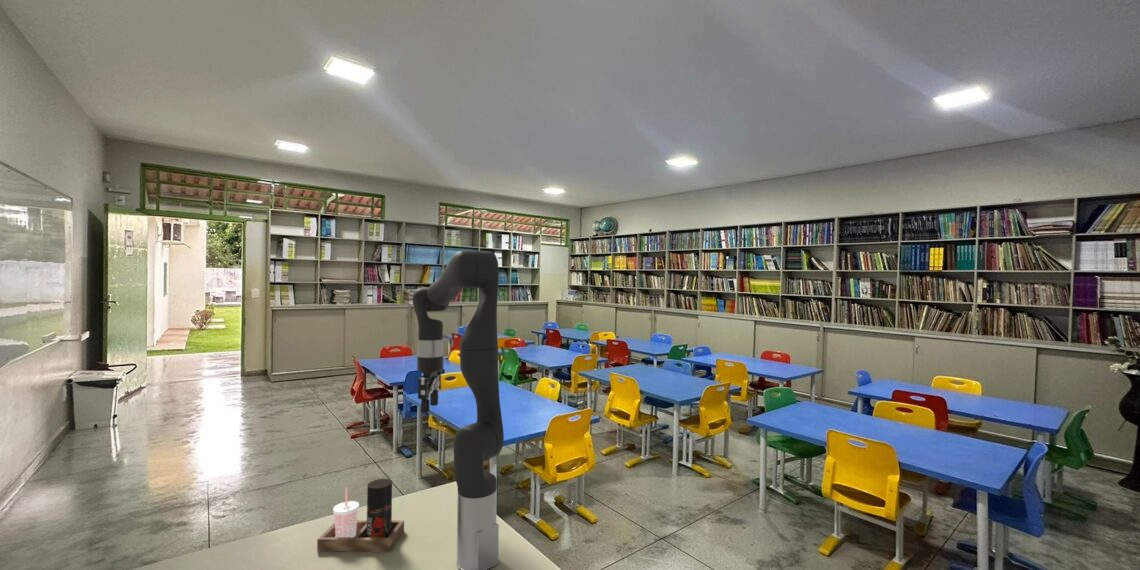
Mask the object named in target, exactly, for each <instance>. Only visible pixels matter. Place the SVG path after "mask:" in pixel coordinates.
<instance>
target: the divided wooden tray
mask: <svg viewBox="0 0 1140 570" xmlns="http://www.w3.org/2000/svg"><path fill="white" fill-rule="evenodd" d="M404 533H405V520H392V524H391V534H390V535H389V537H388V538H367V519H364V520H363V519H361V520H360V519H359V520H358V519H357V527H356V535H355V536H354V537H335V522H334V523H333V524H331V526H330V527H328V529H326V531H325V532H323V533H322V534H321V536H319V537H318V538H317V540H316V541H317V542H316V544H317V545H316V546H317V548H316V551H347V552H346V553H348V552H349V553H350V552H351V553H362V552H363V553H391V551H392V550H393V548H394V547H395V545H396V544H397V543H398V541H399V539H401V537H402V535H404Z"/></svg>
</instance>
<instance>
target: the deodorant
mask: <svg viewBox="0 0 1140 570" xmlns="http://www.w3.org/2000/svg"><path fill="white" fill-rule="evenodd" d="M366 492H367V493H366V494H367V495H366V508H367V509H366V520H367V538H388V537H389V535H390V534H391V524H392V521H393V519H392V518H393V517H392V516H393V510H392V509H393V507H392V506H393V505H392V504H393V503H392V502H393V481H392V480H391V479H390V478H380V479H379V478H378V479H375V480H372V481H370V482H368V483H367V491H366Z"/></svg>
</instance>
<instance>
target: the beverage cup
mask: <svg viewBox="0 0 1140 570" xmlns="http://www.w3.org/2000/svg"><path fill="white" fill-rule="evenodd" d="M344 489H345V491H344V492H345V495H344V496H345V499H344V500H345V501H344V502H341V503H337V504H336V505H335V506H333V508H332V511H333V512H332V513H333V515H334V516H333V517H334V523H335V536H336V537H354V536H355V535H356V534H357V533H356V527H357V520H358V512H359V509H360V503H359V502H358V501H353V500H350V501H348V486H345V488H344Z"/></svg>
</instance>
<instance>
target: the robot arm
mask: <svg viewBox="0 0 1140 570" xmlns="http://www.w3.org/2000/svg"><path fill="white" fill-rule="evenodd" d="M499 269H500V268H499V261H498V258H497V256H496V253H494V252H492V251H488V250H470V249H469V250H466V249H464V250H459V251H456V252H455V253H454V254H453V255H452V256H451V258H450V260H449V261H448V263H447V264H446V266H445V268H444V269H443V271H442V273H441V275H440V276H439V277H438V278H437V279H436V280H435V281H433V282H432V283H431V284H430V285H429V287H419V288H417V289H416V290H414V292H413V294H412V305H413V306H412V307H413V309H414V311H415V315H416V320H417V325H418V335H417V337H418V340H417V347H416V349H417V352H416V353H417V354H416V356H417V357H416V358H417V359H416V360H417V361H416V363H417V364H416V367H417V369H416V370H417V371H418V372H421V373H422V377H418V384H417V385H418V386H417V387H418V389H417V399H418V400H420V411H421V413H423V414H427V413H429V412H430V406H432V407H435V406H437V405H439V393H440V390H441V389H442V371H443V369H444V349H445V348H444V340H443V339H444V323H443V321H442V320H440V319H437V318H436V319H435V318H431V317H430V316H428V312H430V313H431V312H443V311H446V310H447V309H448V308H449V304H450V302H452V301H454V300H455V298H456V297H458V295H459V293H460V291H461V288H466V289H469V288H470V289H474V288H475V289H477V288H478V289H479V296H478V297H479V298H478V304H477V307H476V310H475V312H474V315H473V316H472V318H471V320H470V322H469V324H468V325H467V327H466V328H465V330H464V332H463V334H462V336H461V339H460V342H459V366H460V371H461V374H462V377H463V378H464V380H465V383H466V385H468V387H469V389H470V391H471V392H472V394H473V397H474V399H475V403H476V404H475V405H476V422H473V423H470V424H468V425H467V424H466V425H464V426H462V427H460V428H459V429H458V430H457V431H456V433H455V436H454V439H453V463H454V464H453V466H454V479H455V482H456V486H457V503H456V504H457V509H456V510H457V513H456V514H457V518H456V519H457V521H456V522H457V523H456V525H457V527H456V531H457V532H456V534H457V535H456V565H458V566H459V567H460V568H462V569H464V570H487V569H489V568H490V569H492V568H494V567H496V566H498V565H499V548H500V547H499V545H500V543H499V542H500V541H499V537H500V536H499V534H500V532H499V530H500V529H499V527H500V526H499V523H497V493H498V491H497V488H498V487H497V486H498V485H497V482H498V481H497V477H496V476H495V474H493V473H491V472H488V471H484V462H486V461H488V460H490V459H493V458H495V457H496V456H498V455H499V454H501V451H502V450H503V446H504V443H505V442H504V439H505V438H504V437H505V436H504V427H503V425H504V424H503V416H502V410H501V399H500V386H499V382H500V381H499V343H498V342H499V341H498V317H497V316H498V294H499V281H500V279H499V276H500V274H499V273H500V270H499ZM491 567H492V568H491ZM490 569H489V570H490Z"/></svg>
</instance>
